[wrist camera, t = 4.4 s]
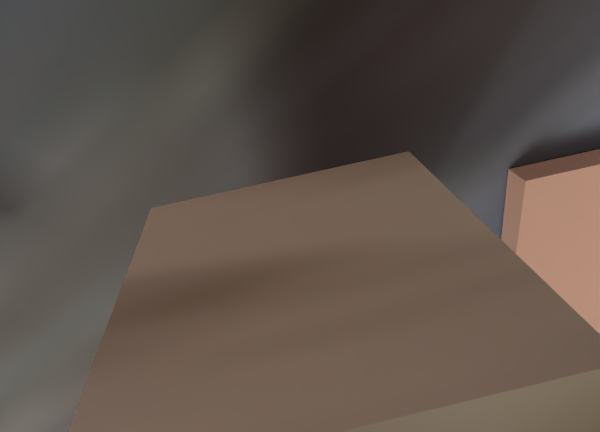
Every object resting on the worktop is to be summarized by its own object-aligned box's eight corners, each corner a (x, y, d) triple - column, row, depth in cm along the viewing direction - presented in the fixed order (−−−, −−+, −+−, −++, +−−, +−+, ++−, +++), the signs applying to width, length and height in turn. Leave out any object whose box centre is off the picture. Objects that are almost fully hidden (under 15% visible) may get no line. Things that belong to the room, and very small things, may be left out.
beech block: (414, 331, 10) (544, 581, 6) (222, 377, 10) (214, 668, 6) (409, 151, 8) (628, 361, 3) (151, 207, 8) (41, 504, 3)
